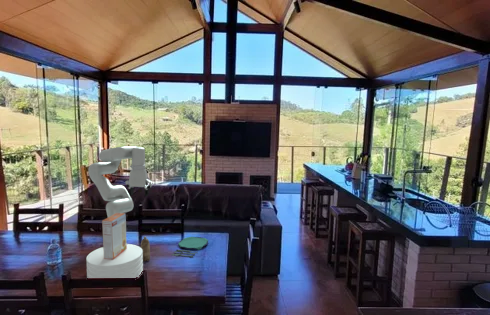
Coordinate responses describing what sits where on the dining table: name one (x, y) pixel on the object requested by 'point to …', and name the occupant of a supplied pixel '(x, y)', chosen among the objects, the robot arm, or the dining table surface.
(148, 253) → the walnut pepper mill
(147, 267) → the dining table surface
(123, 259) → the plate stack
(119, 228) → the cracker box
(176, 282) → the dining table surface
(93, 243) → the dining table surface
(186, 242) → the cutlery set
